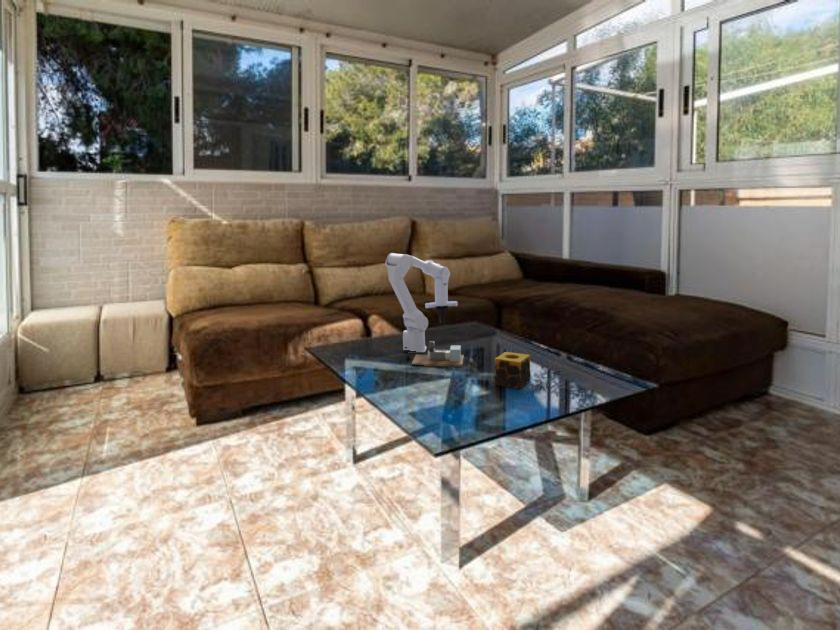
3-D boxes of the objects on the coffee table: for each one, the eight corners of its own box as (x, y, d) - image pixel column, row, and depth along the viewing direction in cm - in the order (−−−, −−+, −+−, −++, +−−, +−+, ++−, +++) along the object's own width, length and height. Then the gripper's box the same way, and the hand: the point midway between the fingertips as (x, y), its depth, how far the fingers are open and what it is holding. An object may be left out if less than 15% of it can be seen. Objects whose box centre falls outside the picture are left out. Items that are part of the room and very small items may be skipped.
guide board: (411, 365, 223) (411, 363, 223) (416, 356, 234) (415, 354, 234) (462, 366, 220) (462, 364, 220) (463, 357, 232) (463, 355, 231)
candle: (520, 390, 193) (520, 362, 191) (493, 385, 199) (493, 358, 196) (531, 381, 202) (531, 354, 200) (505, 377, 207) (505, 351, 205)
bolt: (428, 359, 226) (427, 342, 224) (428, 357, 229) (428, 340, 227) (457, 359, 224) (457, 342, 223) (458, 357, 227) (458, 340, 226)
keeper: (450, 361, 223) (449, 349, 222) (451, 357, 229) (451, 345, 228) (460, 361, 223) (459, 349, 222) (460, 357, 229) (460, 345, 228)
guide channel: (430, 360, 225) (430, 352, 224) (431, 357, 230) (431, 348, 229) (445, 361, 224) (445, 352, 224) (446, 357, 229) (446, 349, 228)
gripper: (427, 295, 244) (428, 325, 247) (459, 293, 247) (459, 323, 250) (423, 292, 251) (424, 322, 254) (455, 290, 254) (455, 319, 257)
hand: (441, 322), depth 252 cm, fingers closed
